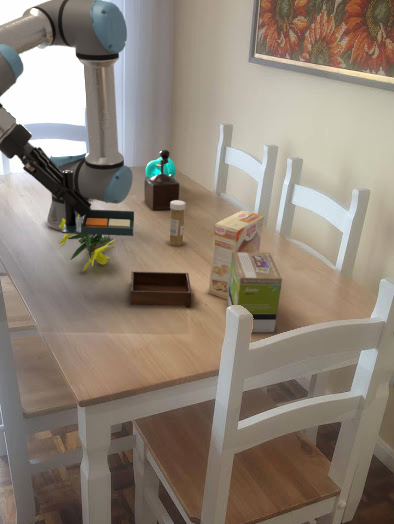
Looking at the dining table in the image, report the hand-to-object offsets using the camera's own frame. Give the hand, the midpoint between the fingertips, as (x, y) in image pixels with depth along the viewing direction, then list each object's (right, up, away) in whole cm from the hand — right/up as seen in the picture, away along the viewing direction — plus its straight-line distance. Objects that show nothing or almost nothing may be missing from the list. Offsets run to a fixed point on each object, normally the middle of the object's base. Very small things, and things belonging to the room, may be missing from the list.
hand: (86, 210), depth 136 cm
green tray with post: (+3, -3, +2) cm, 5 cm away
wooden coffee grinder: (+12, +22, +79) cm, 83 cm away
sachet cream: (+7, -3, +3) cm, 8 cm away
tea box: (+39, -25, +7) cm, 47 cm away
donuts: (+11, +36, +101) cm, 108 cm away
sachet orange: (+2, -3, +2) cm, 4 cm away
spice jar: (+19, 0, +46) cm, 50 cm away
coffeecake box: (+36, -16, +21) cm, 45 cm away
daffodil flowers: (-6, -6, +32) cm, 33 cm away
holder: (+17, -19, +14) cm, 29 cm away
